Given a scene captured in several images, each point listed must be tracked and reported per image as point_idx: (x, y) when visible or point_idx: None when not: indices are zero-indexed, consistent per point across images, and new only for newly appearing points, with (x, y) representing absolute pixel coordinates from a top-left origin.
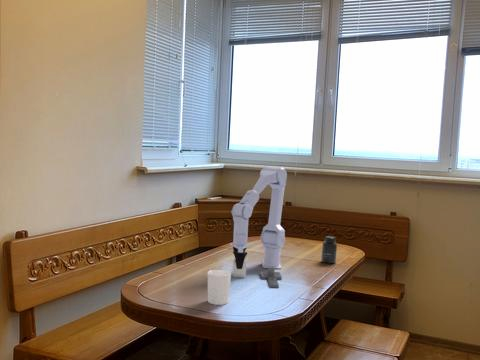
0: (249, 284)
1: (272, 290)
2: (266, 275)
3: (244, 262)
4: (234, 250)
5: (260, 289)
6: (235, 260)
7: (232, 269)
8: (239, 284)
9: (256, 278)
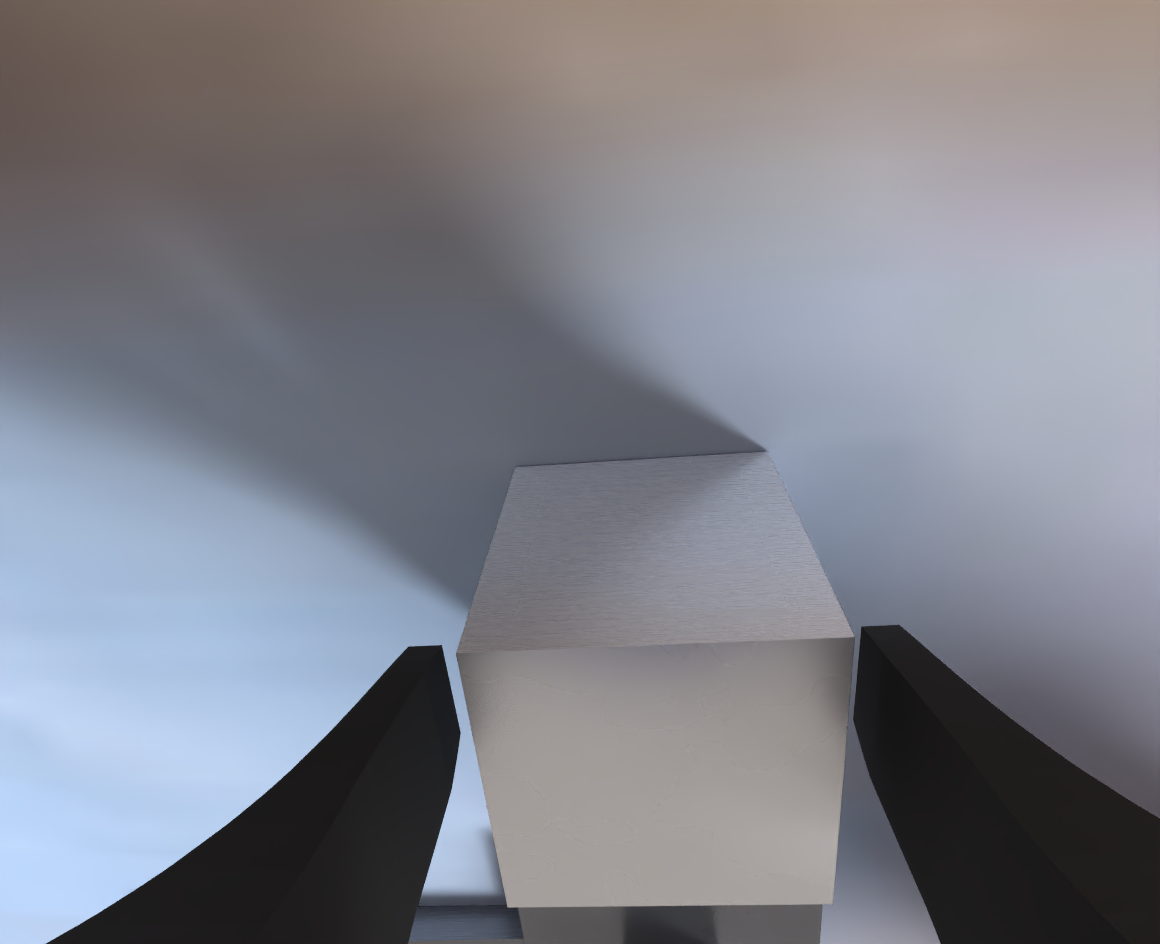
0: (187, 713)
1: (65, 920)
2: (582, 936)
3: (534, 881)
4: (1091, 934)
5: (30, 821)
6: (710, 703)
7: (737, 498)
8: (116, 588)
9: None
